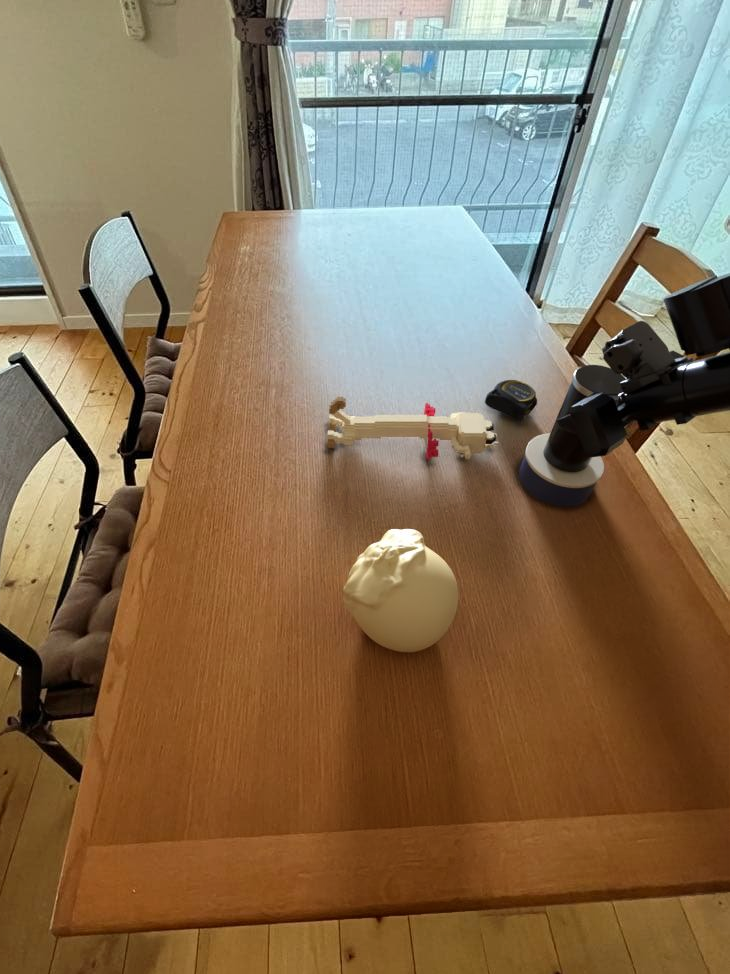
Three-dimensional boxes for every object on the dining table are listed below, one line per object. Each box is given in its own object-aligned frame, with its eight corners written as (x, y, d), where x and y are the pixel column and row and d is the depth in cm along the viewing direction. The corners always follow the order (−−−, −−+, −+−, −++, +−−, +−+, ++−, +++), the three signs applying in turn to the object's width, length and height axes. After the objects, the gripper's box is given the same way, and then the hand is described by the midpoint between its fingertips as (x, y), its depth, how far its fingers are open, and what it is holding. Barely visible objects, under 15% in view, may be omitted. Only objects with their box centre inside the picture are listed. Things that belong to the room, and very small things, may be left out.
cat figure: (327, 466, 82) (500, 467, 80) (323, 421, 76) (511, 421, 73) (332, 422, 89) (491, 422, 86) (328, 378, 83) (500, 376, 80)
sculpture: (378, 557, 69) (386, 501, 62) (465, 606, 65) (486, 552, 57) (325, 625, 63) (327, 571, 55) (419, 685, 58) (435, 636, 50)
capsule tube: (596, 473, 74) (637, 395, 64) (550, 473, 73) (584, 395, 64) (580, 441, 78) (616, 364, 69) (536, 441, 78) (567, 364, 68)
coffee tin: (598, 470, 81) (610, 448, 77) (584, 518, 74) (596, 496, 71) (527, 446, 84) (536, 424, 81) (509, 490, 78) (517, 467, 74)
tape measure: (480, 408, 90) (485, 390, 87) (503, 390, 94) (509, 372, 91) (517, 429, 87) (523, 410, 84) (539, 409, 90) (546, 391, 88)
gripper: (719, 289, 61) (595, 333, 75) (620, 344, 53) (502, 382, 67) (751, 383, 62) (623, 409, 76) (660, 450, 54) (536, 465, 68)
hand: (574, 414), depth 72 cm, fingers closed on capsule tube, 6 cm apart
